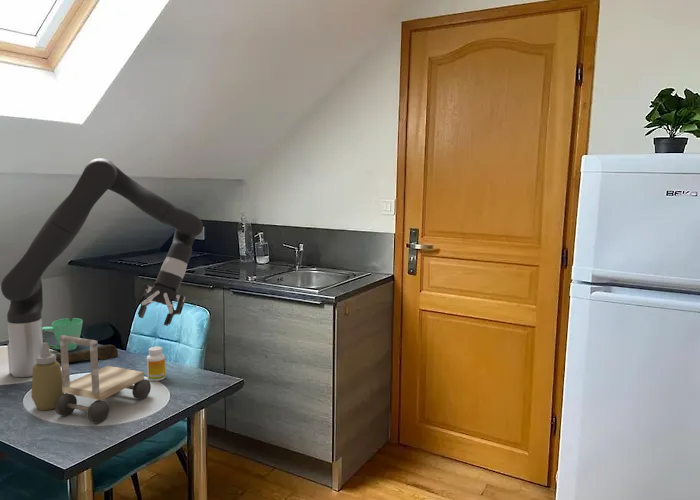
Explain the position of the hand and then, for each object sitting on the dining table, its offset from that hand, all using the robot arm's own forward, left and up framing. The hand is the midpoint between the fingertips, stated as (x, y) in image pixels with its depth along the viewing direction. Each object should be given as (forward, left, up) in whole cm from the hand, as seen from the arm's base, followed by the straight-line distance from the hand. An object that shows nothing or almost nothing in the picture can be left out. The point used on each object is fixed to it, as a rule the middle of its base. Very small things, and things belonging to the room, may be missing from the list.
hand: (153, 321), depth 178 cm
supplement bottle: (+4, -4, -17) cm, 18 cm away
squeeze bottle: (-9, -32, -17) cm, 37 cm away
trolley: (+5, -26, -17) cm, 31 cm away
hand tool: (-28, 0, -17) cm, 33 cm away
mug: (-44, +4, -17) cm, 47 cm away
